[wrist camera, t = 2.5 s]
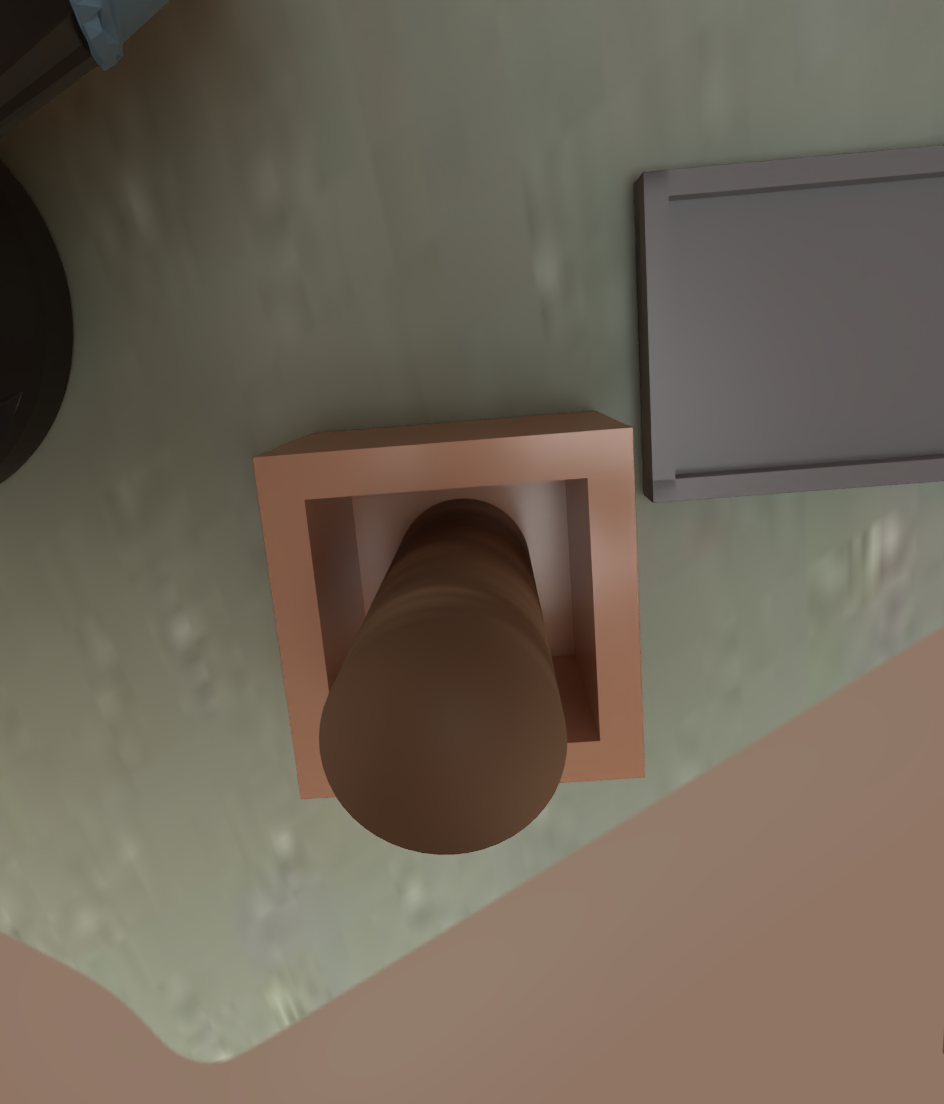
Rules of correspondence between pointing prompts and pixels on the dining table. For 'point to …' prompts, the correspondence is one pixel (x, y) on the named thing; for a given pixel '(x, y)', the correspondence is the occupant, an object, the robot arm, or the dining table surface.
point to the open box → (455, 473)
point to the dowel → (448, 691)
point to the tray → (791, 324)
